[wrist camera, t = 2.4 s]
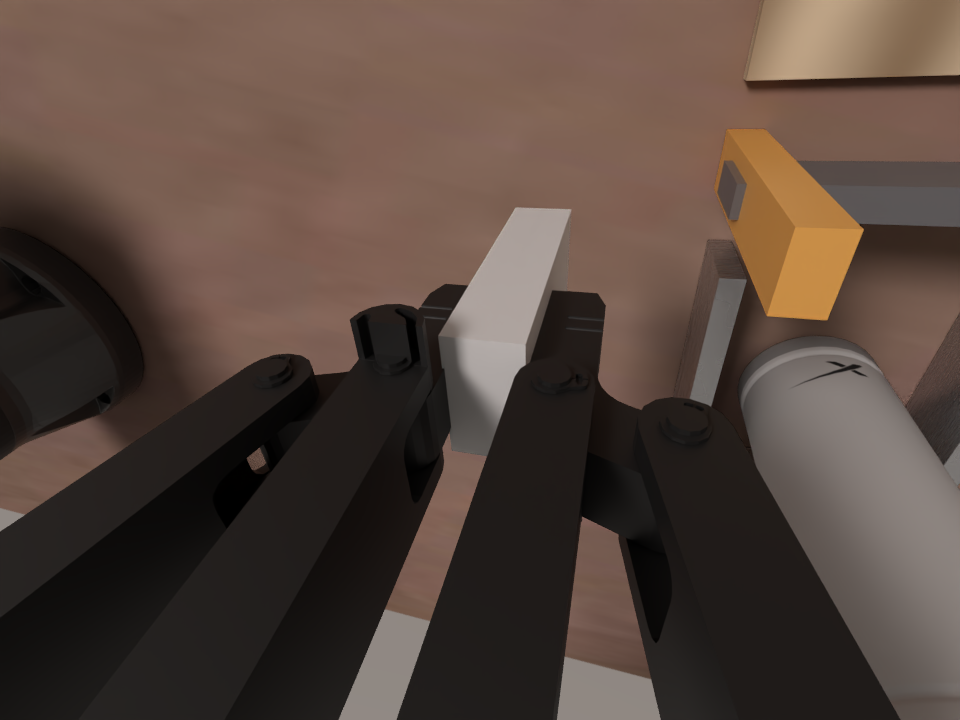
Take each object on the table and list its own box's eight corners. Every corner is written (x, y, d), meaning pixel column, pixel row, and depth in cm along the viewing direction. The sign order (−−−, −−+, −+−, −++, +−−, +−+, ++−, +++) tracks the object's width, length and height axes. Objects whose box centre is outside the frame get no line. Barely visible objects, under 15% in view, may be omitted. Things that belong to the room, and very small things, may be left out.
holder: (661, 448, 31) (664, 499, 28) (707, 239, 23) (719, 278, 20) (886, 478, 28) (918, 538, 25) (1025, 252, 20) (1097, 299, 17)
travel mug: (814, 305, 23) (1175, 925, 8) (906, 384, 25) (1384, 1065, 9) (706, 380, 27) (803, 901, 12) (790, 445, 28) (984, 1002, 13)
